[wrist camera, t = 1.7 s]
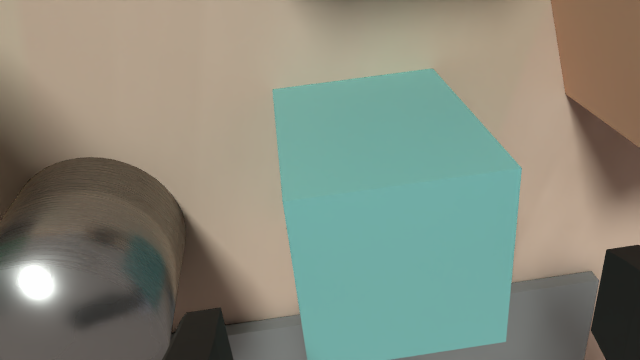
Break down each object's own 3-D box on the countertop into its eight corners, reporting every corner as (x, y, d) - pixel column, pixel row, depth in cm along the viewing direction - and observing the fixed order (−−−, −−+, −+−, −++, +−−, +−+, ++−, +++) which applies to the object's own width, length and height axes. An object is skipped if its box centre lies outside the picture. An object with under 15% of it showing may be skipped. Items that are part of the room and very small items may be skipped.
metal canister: (167, 147, 16) (139, 251, 12) (199, 283, 18) (186, 411, 14) (-13, 168, 16) (-111, 284, 11) (44, 304, 18) (-18, 441, 14)
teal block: (432, 68, 16) (521, 168, 10) (432, 203, 18) (505, 341, 13) (272, 89, 16) (282, 201, 10) (292, 223, 18) (309, 371, 13)
